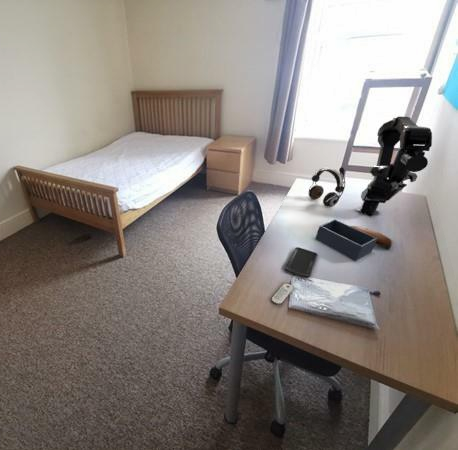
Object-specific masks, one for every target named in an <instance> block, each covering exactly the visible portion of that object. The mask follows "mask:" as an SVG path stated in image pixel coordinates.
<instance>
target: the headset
mask: <svg viewBox="0 0 458 450" xmlns="http://www.w3.org/2000/svg"><path fill="white" fill-rule="evenodd" d="M314 172H315V173H314V175H312V176H311V181H312V184H311V185H310V186H309V188H308V197H309V198H310V199H311V200H319V199H320V198H321V197H322V196H323V194H324V191H325V190H324V189H325V188H323V186H322V185H319V184H317V183H318V182H319V180H320V178H321V175H322V174H323V173H324V172H327V173H330V174H331V175H332V176H333V177H334V179H335V181H336V186H335V188H334V191H330V192H328V193H327V194H326V195H325V196H323V199H322V204H323V206H325V207H329V208H332V207H334V206H336V205H337V204H338V203H339V200H340V198H341V197H342V195H343V193H344V192H345V187H346V177H345V168H344V167H342V166H341V167H339V170H336V169H334V168H331V167H323V168H319V170H317V169H316V170H315V171H314ZM314 184H315V185H314Z"/></svg>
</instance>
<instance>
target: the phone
mask: <svg viewBox="0 0 458 450" xmlns="http://www.w3.org/2000/svg"><path fill="white" fill-rule="evenodd" d="M318 256H319V254H318V253H317V252H315V251H312V250H308V249H306V248H302V247H299V246H297V247H295V248H294V250H293V252H292V254H291V255H290V258H289V259H288V260H287V263H286V264H285V268H284V270H285V271H286V272H288V273H291V274H293V275H297V276H300V277H302V278H305V279H308V278H310V275H311V273H312V272H313V269H314V266H315V263H316V262H317V259H318Z"/></svg>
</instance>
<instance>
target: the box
mask: <svg viewBox="0 0 458 450" xmlns="http://www.w3.org/2000/svg"><path fill="white" fill-rule="evenodd" d="M351 226H352V225H349V224H347V223H345V222H342V221H340V220H338V219H336V218H335V219H332V220H330V221H327V222H326V223H323V224H321V225H319V226H318V229H317V232H316V235H315V241H317V242H319V243H321V244H323V245H325V246H326V247H328V248H330V249H332V250H334V251H336V252H337V253H340V254H342V255H343V256H345V257H346V258H349V259H351V260H353V261H355V262H357V261H359V260H360V259H362V258H364V257H366V256H368V255H369V254H370V255H371V253H372V252H373V250H374V247H375V245H376V241H377V239H378V238H375V237H373V236H371V235H369V234H367V233H364V232H362V231H360V230H358V229H355V228H353V227H351Z"/></svg>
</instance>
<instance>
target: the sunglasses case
mask: <svg viewBox="0 0 458 450" xmlns="http://www.w3.org/2000/svg"><path fill="white" fill-rule="evenodd" d="M350 226H351V227H353V228H355V229H358V230H360V231H362V232H364V233H367V234H369V235H371V236H373V237H375V238H378V239H377V241H376V243H375V245H379V246H382V247H385V248H388V249H391V246H392V244H393V242H392V239H391V238H390V237H388V236H386V235H384V234H383V233H381V232H379V231H375V230H373V229H369V228H366V227H362V226H357V225H350Z"/></svg>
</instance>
